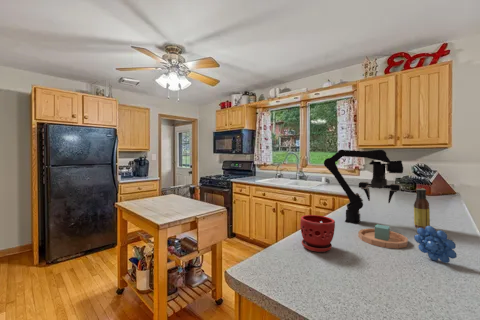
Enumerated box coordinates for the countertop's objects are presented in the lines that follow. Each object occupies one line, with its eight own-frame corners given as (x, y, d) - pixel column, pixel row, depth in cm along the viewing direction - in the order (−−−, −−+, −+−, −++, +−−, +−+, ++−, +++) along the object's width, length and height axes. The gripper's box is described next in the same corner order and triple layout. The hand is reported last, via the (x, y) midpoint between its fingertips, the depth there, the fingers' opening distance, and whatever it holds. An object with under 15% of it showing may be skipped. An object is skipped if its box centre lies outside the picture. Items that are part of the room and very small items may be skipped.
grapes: (410, 257, 82) (410, 225, 82) (416, 252, 86) (416, 221, 86) (453, 270, 73) (454, 233, 72) (458, 264, 77) (458, 229, 76)
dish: (354, 240, 98) (354, 236, 98) (363, 230, 112) (363, 226, 112) (405, 252, 87) (405, 246, 87) (408, 238, 100) (408, 234, 100)
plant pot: (329, 257, 82) (329, 225, 82) (295, 248, 90) (295, 219, 90) (338, 246, 93) (338, 217, 93) (307, 239, 101) (307, 212, 101)
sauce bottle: (424, 226, 118) (424, 188, 117) (433, 230, 111) (433, 190, 111) (410, 225, 118) (411, 188, 118) (418, 229, 112) (419, 190, 112)
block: (374, 238, 99) (374, 226, 99) (376, 235, 103) (376, 224, 103) (388, 240, 96) (388, 229, 96) (389, 237, 100) (389, 226, 100)
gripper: (356, 173, 121) (356, 202, 121) (398, 175, 109) (398, 207, 109) (361, 171, 129) (360, 199, 130) (400, 173, 117) (400, 203, 118)
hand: (378, 201), depth 121 cm, fingers open, 9 cm apart
